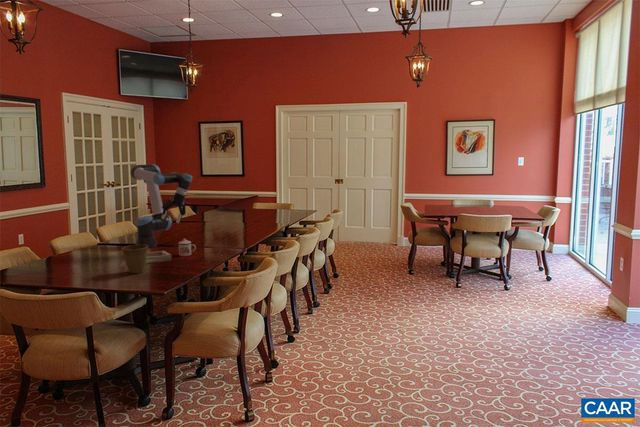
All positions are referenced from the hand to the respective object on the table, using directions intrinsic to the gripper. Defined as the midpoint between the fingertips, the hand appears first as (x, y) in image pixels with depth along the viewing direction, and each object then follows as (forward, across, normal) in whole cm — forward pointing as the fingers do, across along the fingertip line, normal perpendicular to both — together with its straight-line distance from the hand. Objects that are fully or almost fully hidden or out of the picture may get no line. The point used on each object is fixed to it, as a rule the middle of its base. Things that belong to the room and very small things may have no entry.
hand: (170, 220), depth 363 cm
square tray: (+27, -16, -20) cm, 37 cm away
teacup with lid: (+17, +6, -24) cm, 30 cm away
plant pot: (+31, -40, -40) cm, 65 cm away
